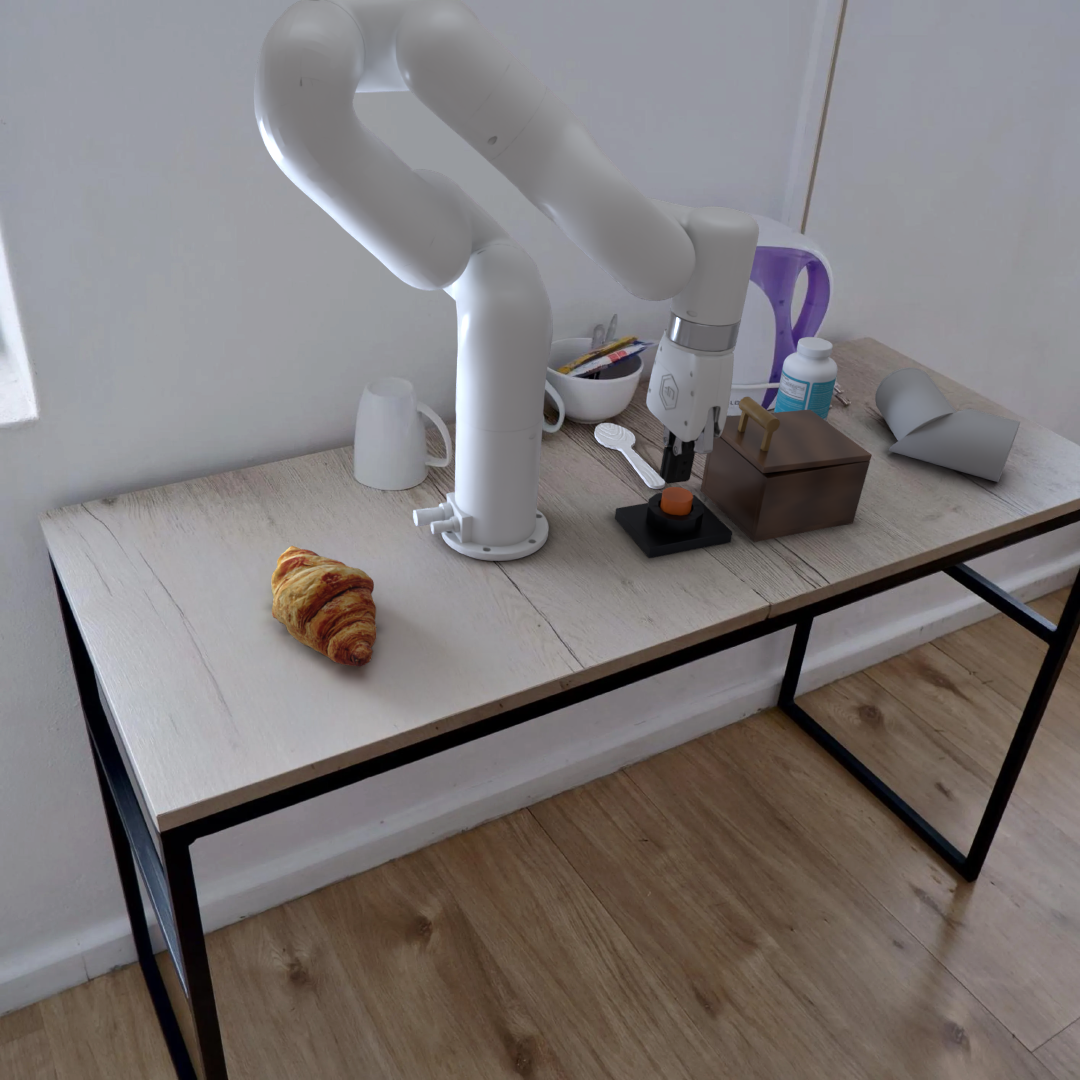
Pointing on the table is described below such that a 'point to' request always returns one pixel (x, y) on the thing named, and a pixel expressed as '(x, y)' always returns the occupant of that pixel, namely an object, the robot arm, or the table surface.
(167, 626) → the table surface
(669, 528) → the switch block
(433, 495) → the table surface
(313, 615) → the croissant
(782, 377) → the pill bottle
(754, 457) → the lid
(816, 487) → the tea box
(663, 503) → the button
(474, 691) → the table surface
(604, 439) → the spoon
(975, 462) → the elbow connector
